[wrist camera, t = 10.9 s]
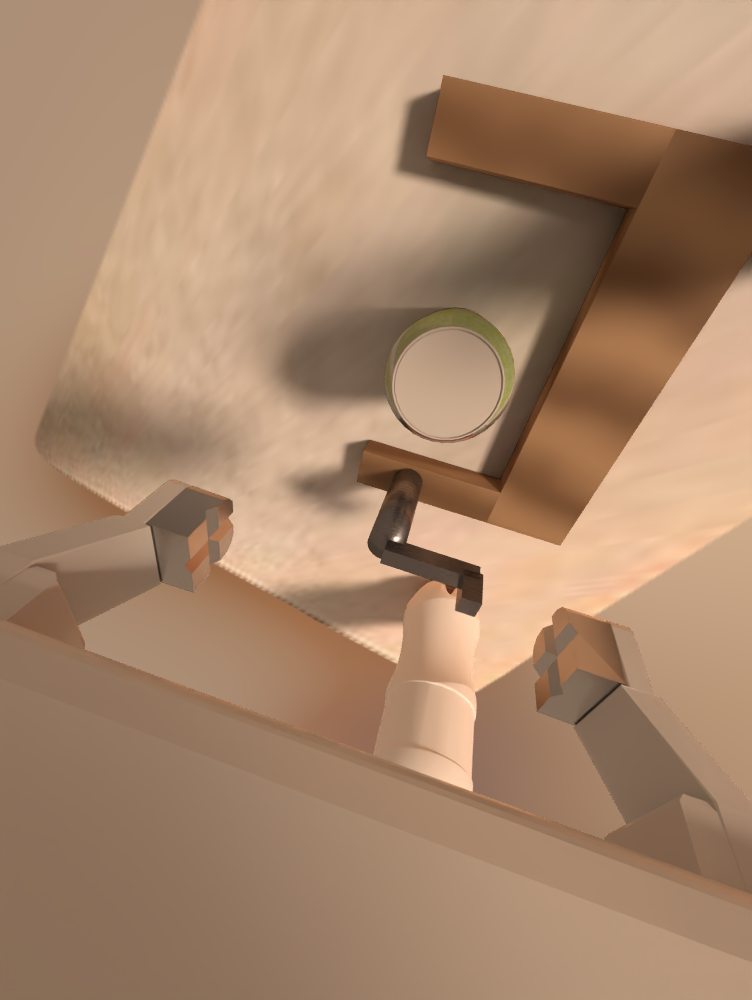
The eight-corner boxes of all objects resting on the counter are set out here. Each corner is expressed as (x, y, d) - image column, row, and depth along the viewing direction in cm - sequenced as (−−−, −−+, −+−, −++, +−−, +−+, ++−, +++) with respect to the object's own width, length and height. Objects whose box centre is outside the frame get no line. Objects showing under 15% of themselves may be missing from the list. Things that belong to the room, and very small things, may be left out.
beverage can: (402, 384, 30) (358, 460, 21) (425, 272, 26) (382, 304, 16) (486, 404, 30) (481, 493, 20) (523, 294, 25) (539, 339, 16)
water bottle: (432, 561, 39) (364, 918, 19) (495, 596, 40) (494, 979, 20) (397, 601, 44) (312, 927, 24) (455, 632, 44) (420, 976, 24)
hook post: (401, 452, 34) (359, 555, 23) (489, 479, 33) (485, 597, 23) (394, 476, 35) (352, 583, 25) (479, 502, 34) (471, 623, 24)
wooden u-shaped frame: (447, 86, 21) (443, 75, 19) (786, 165, 20) (812, 160, 18) (363, 469, 35) (356, 481, 34) (557, 530, 34) (560, 545, 32)
